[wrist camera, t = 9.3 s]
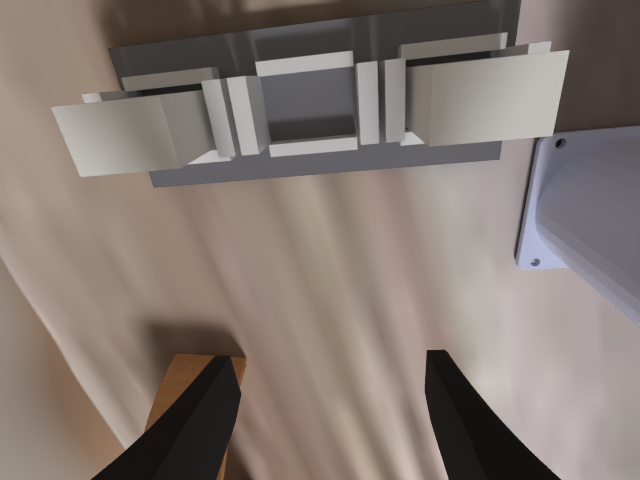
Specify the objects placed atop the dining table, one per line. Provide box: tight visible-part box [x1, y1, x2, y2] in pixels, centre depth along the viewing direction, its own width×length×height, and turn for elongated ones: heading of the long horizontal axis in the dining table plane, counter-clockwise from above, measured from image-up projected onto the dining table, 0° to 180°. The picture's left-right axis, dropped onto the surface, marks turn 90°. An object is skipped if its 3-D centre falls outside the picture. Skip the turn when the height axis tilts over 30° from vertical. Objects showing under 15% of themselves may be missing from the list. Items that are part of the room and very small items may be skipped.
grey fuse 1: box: [51, 90, 216, 177], centre depth 15 cm, size 4×2×6 cm, turn 96°
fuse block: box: [82, 0, 552, 188], centre depth 16 cm, size 19×7×4 cm, turn 96°
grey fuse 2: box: [405, 50, 570, 147], centre depth 13 cm, size 4×2×6 cm, turn 96°
